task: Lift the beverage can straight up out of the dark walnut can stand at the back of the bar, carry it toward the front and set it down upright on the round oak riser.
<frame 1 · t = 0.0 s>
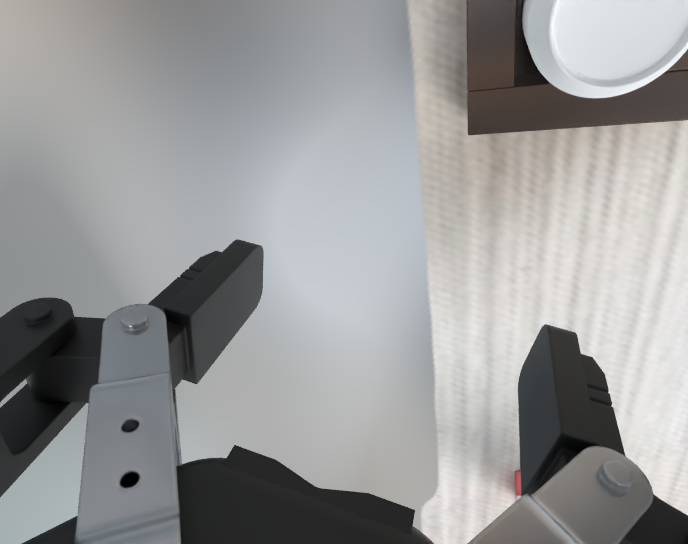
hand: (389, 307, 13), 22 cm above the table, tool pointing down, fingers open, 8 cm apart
beverage can: (578, 4, 26), resting in can stand
can stand: (579, 4, 26), on the table
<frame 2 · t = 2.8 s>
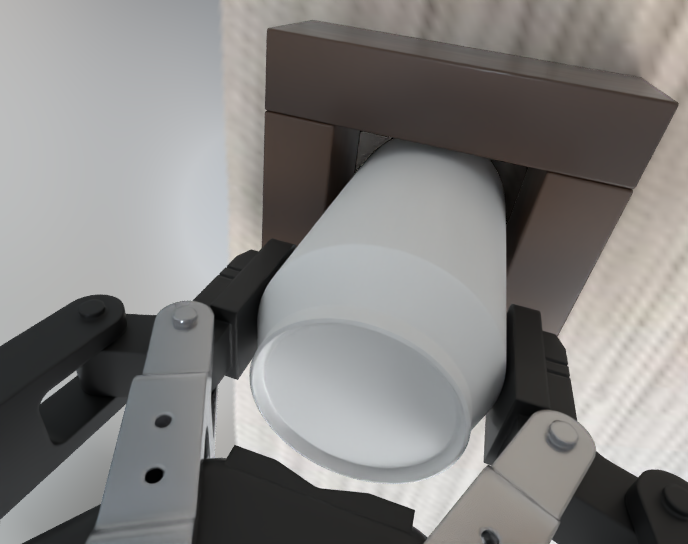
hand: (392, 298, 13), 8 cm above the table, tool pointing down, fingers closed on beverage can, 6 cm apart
beverage can: (429, 196, 20), resting in can stand, touching gripper
can stand: (429, 197, 19), on the table
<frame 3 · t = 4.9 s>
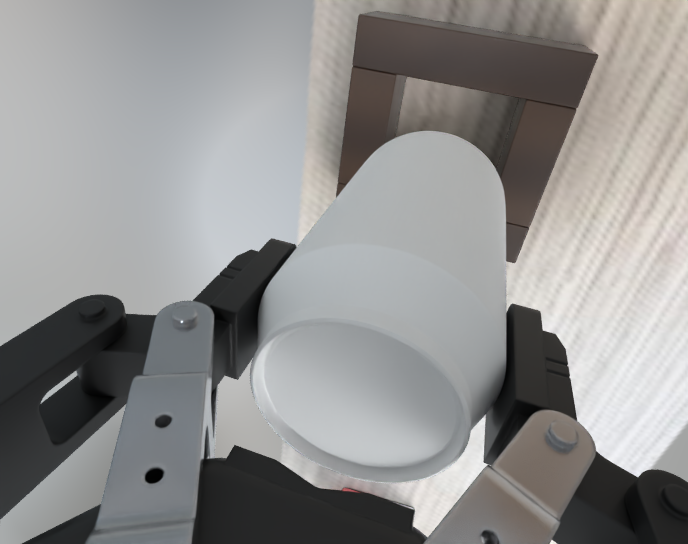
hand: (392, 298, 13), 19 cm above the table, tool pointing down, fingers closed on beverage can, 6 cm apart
beverage can: (429, 196, 20), point 11 cm above the table, touching gripper
can stand: (450, 131, 29), on the table
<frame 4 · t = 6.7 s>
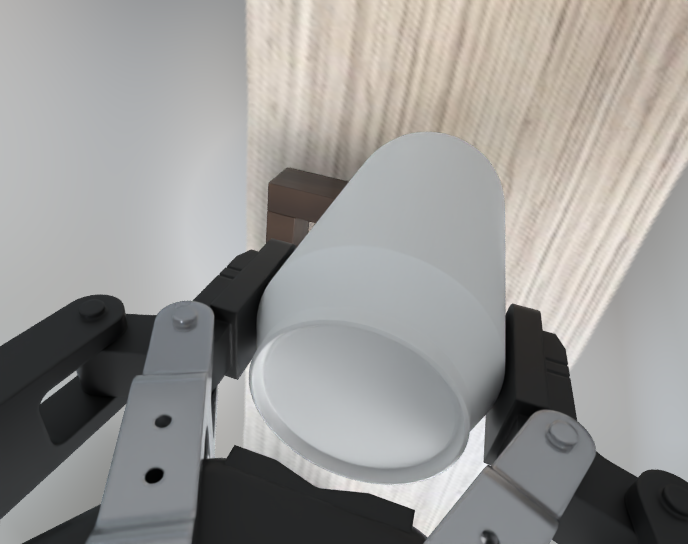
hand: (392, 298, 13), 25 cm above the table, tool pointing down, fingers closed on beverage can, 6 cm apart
beverage can: (429, 196, 20), point 17 cm above the table, touching gripper
can stand: (342, 242, 42), on the table
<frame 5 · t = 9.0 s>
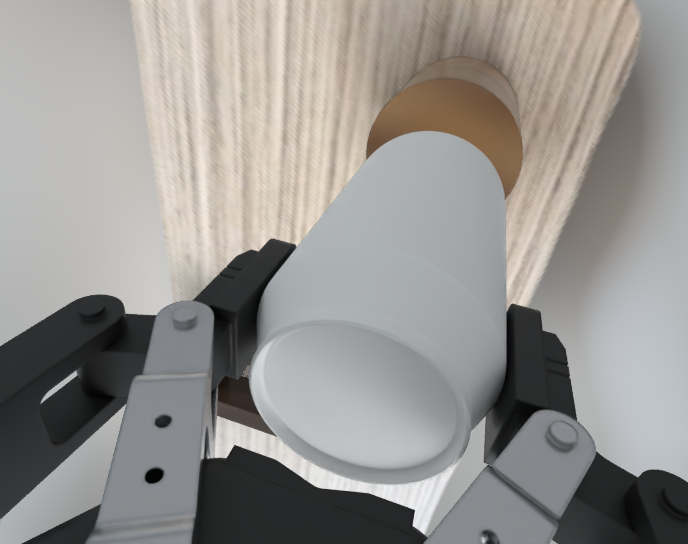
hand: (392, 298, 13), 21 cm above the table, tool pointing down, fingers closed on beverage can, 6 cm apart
beverage can: (429, 196, 20), point 13 cm above the table, touching gripper
riser: (454, 122, 30), on the table
can stand: (256, 359, 48), on the table
when the fingers open (16 cm above the table, at t = 10.8 s): beverage can stays where it is, resting on riser.
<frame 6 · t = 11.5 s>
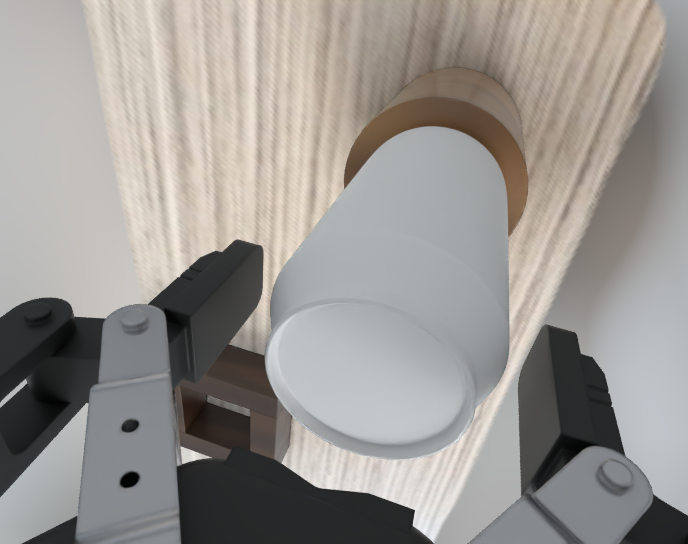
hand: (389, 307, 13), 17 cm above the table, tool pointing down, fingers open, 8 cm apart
beverage can: (433, 190, 20), point 8 cm above the table, touching riser
riser: (448, 141, 26), on the table
can stand: (236, 390, 45), on the table
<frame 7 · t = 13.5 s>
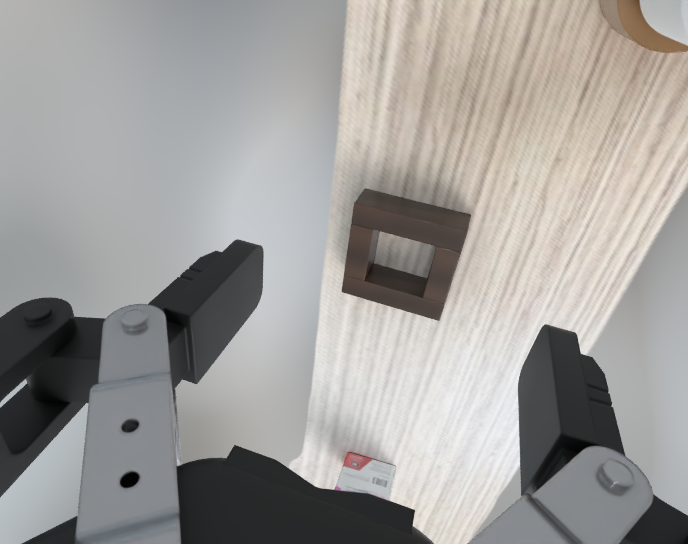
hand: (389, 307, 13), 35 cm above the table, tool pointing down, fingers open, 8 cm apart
ink cartridge box: (371, 465, 77), on the table
can stand: (406, 247, 52), on the table
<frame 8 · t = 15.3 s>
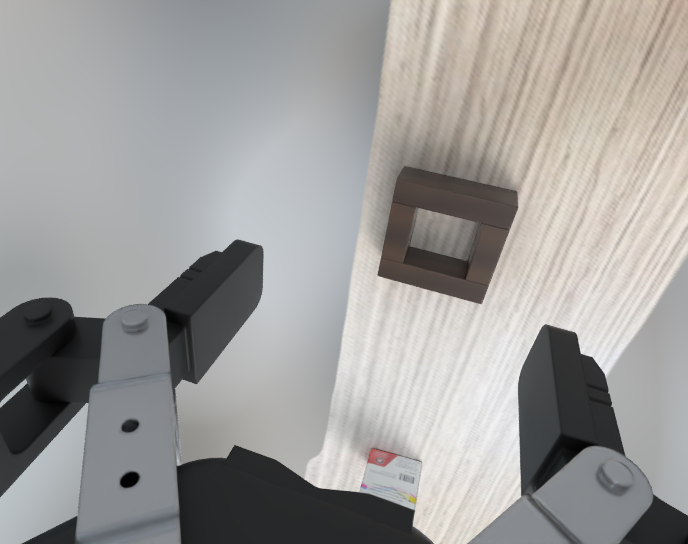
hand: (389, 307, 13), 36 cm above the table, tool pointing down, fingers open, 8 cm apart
ink cartridge box: (395, 462, 74), on the table
can stand: (445, 228, 50), on the table
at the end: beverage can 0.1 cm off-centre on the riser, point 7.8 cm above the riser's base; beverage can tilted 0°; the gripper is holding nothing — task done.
